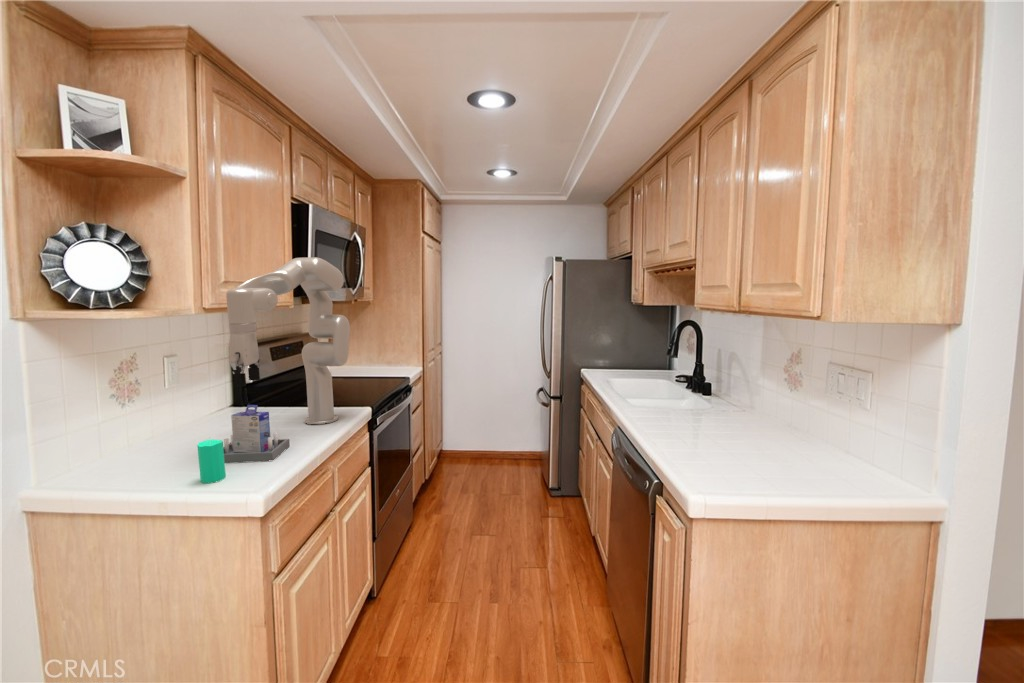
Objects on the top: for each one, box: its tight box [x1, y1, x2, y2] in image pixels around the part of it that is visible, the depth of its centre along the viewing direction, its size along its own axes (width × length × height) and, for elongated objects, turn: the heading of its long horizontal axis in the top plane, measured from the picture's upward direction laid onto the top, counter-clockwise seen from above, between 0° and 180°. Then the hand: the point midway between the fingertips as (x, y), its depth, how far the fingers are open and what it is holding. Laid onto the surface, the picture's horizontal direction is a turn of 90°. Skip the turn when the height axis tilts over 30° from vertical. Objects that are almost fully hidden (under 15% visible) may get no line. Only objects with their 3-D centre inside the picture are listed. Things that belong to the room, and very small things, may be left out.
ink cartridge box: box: [230, 404, 271, 453], centre depth 157 cm, size 10×6×14 cm, turn 82°
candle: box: [196, 437, 227, 484], centre depth 136 cm, size 6×6×12 cm
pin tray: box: [223, 432, 291, 464], centre depth 157 cm, size 14×18×6 cm
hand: (247, 383), depth 155 cm, fingers open, 9 cm apart
